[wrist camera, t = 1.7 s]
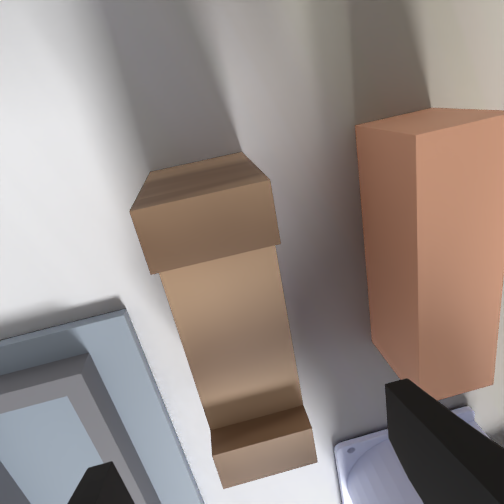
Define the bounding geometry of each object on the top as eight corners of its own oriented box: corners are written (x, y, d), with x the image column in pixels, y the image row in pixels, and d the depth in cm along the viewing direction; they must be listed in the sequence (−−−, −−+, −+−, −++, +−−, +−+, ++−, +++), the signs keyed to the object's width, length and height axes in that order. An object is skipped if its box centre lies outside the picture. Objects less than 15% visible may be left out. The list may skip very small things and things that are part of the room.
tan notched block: (150, 171, 16) (129, 211, 10) (241, 151, 16) (270, 179, 10) (213, 381, 21) (223, 489, 15) (282, 363, 21) (317, 462, 15)
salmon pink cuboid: (353, 125, 16) (416, 135, 12) (428, 107, 17) (518, 111, 12) (370, 339, 21) (419, 405, 17) (428, 323, 21) (493, 384, 17)
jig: (126, 308, 18) (118, 333, 16) (214, 527, 25) (216, 563, 23) (-132, 373, 17) (-172, 408, 15) (36, 580, 24) (23, 621, 22)
